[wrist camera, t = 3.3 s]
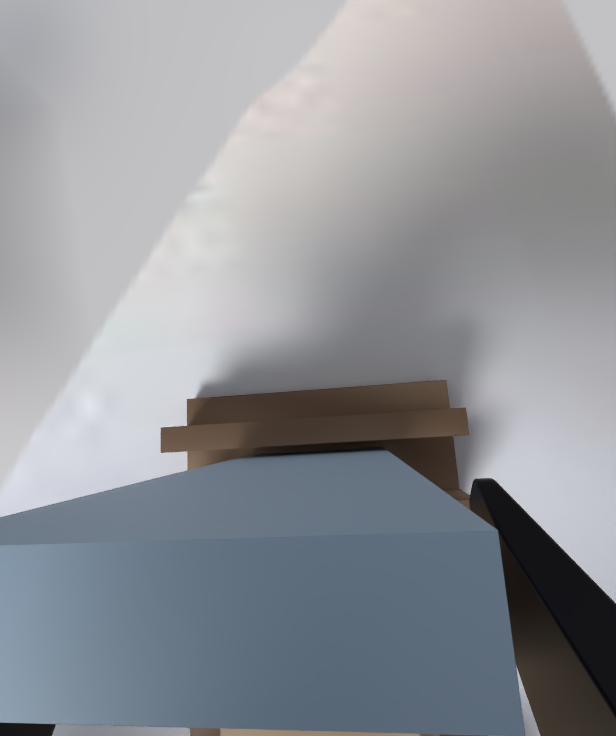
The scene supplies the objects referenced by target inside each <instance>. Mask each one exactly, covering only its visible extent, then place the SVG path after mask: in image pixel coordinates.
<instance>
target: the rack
mask: <svg viewBox="0 0 616 736" xmlns="http://www.w3.org/2000/svg"><path fill="white" fill-rule="evenodd" d="M458 435H469V429H468V421H467V413H466V408H453V409H450V408H449V399H448V391H447V383H446V380H440V381H426V382H413V383H399V384H385V385H372V386H358V387H345V388H331V389H318V390H304V391H291V392H277V393H264V394H250V395H237V396H223V397H210V398H196V399H187V426H179V427H164V428H161V453H165V452H182V451H188V470H191V469H195V468H199V467H203V466H207V465H211V464H215V463H219V462H223V461H227V460H231V459H235V458H239V457H243V456H247V455H254V454H272V453H290V452H308V451H325V450H343V449H361V448H379V447H384V448H385V449H386V450H388V451H389V452H391V453H392V454H393V455H395V456H396V457H397V458H399V459H400V460H402V461H403V462H404V463H406V464H407V465H408V466H410V467H411V468H413V469H414V470H415V471H417V472H418V473H420V474H421V475H422V476H424V477H425V478H426V479H428V480H429V481H431V482H432V483H433V484H435V485H436V486H437V487H439V488H440V489H442V490H443V491H444V492H446V493H447V494H449V495H450V496H451V497H453V498H454V499H455V500H457V501H458V502H460V503H461V504H462V505H464V506H465V507H466V508H468V509H469V510H470V505H469V500H470V495H469V494H467V493H465V492H464V491H462V490H460V489H459V483H458V474H457V466H456V458H455V449H454V441H453V436H458ZM190 736H220V728H190ZM440 736H484V735H447V734H440Z"/></svg>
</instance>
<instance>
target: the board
mask: <svg viewBox="0 0 616 736" xmlns="http://www.w3.org/2000/svg"><path fill="white" fill-rule="evenodd" d="M0 723H36V724H74V725H111V726H148V727H186V728H223V729H260V730H297V731H335V732H372V733H409V734H447V735H484V736H525V730H524V723H523V715H522V708H521V700H520V693H519V685H518V678H517V670H516V663H515V655H514V648H513V640H512V633H511V625H510V618H509V610H508V603H507V595H506V588H505V580H504V573H503V565H502V558H501V550H500V543H499V535H498V530H497V529H495V528H494V527H493V526H491V525H490V524H489V523H487V522H486V521H484V520H483V519H482V518H480V517H479V516H477V515H476V514H475V513H473V512H472V511H471V510H469V509H468V508H466V507H465V506H464V505H462V504H461V503H460V502H458V501H457V500H455V499H454V498H453V497H451V496H450V495H449V494H447V493H446V492H444V491H443V490H442V489H440V488H439V487H437V486H436V485H435V484H433V483H432V482H431V481H429V480H428V479H426V478H425V477H424V476H422V475H421V474H420V473H418V472H417V471H415V470H414V469H413V468H411V467H410V466H408V465H407V464H406V463H404V462H403V461H402V460H400V459H399V458H397V457H396V456H395V455H393V454H392V453H391V452H389V451H388V450H386V449H385V448H384V447H379V448H361V449H343V450H325V451H308V452H290V453H272V454H254V455H247V456H243V457H239V458H235V459H231V460H227V461H223V462H219V463H215V464H211V465H207V466H203V467H199V468H195V469H191V470H187V471H183V472H179V473H175V474H171V475H167V476H163V477H159V478H155V479H152V480H148V481H144V482H140V483H136V484H132V485H128V486H124V487H120V488H116V489H112V490H108V491H104V492H100V493H96V494H92V495H88V496H84V497H80V498H76V499H72V500H68V501H64V502H60V503H56V504H52V505H48V506H44V507H40V508H36V509H32V510H28V511H24V512H20V513H16V514H12V515H8V516H4V517H0Z"/></svg>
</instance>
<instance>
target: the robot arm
mask: <svg viewBox="0 0 616 736" xmlns="http://www.w3.org/2000/svg"><path fill="white" fill-rule="evenodd" d="M469 505H470V510H471V511H472V512H473V513H475V514H476V515H477V516H479V517H480V518H482V519H483V520H484V521H486V522H487V523H489V524H490V525H491V526H493V527H494V528H495V529H497V530H498V535H499V543H500V550H501V558H502V565H503V573H504V580H505V588H506V595H507V603H508V610H509V618H510V625H511V633H512V640H513V648H514V655H515V663H516V666H517V669H518V672H519V675H520V677H521V680H522V683H523V686H524V689H525V692H526V695H527V698H528V700H529V703H530V706H531V709H532V712H533V715H534V718H535V721H536V723H537V726H538V729H539V732H540V735H541V736H616V603H615V602H614V601H613V600H612V599H611V598H610V597H609V596H608V595H607V594H606V593H605V592H604V591H603V590H602V589H601V588H600V587H599V586H598V585H597V584H596V583H595V582H594V581H593V580H592V579H591V578H590V577H589V576H588V575H587V574H586V573H585V572H584V571H583V570H582V569H581V568H580V567H579V566H578V565H577V564H576V562H575V561H574V560H573V559H572V558H571V557H570V556H569V555H568V554H567V553H566V552H565V551H564V550H563V549H562V548H561V547H560V546H559V545H558V544H557V543H556V542H555V541H554V540H553V539H552V538H551V537H550V536H549V535H548V534H547V533H546V532H545V531H544V530H543V529H542V528H541V527H540V526H539V525H538V524H537V523H536V522H535V521H534V520H533V519H532V518H531V517H530V516H529V515H528V513H527V512H526V511H525V510H524V509H523V508H522V507H521V506H520V505H519V504H518V503H517V502H516V501H515V500H514V499H513V498H512V497H511V496H510V495H509V494H508V493H507V492H506V491H505V490H504V489H503V488H502V487H501V486H500V485H499V484H498V483H497V482H496V481H495V480H493V479H491V478H482V479H475V480H474V481H473V484H472V489H471V494H470V500H469ZM55 725H56V724H36V723H0V736H52V734H53V731H54V728H55Z"/></svg>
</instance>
